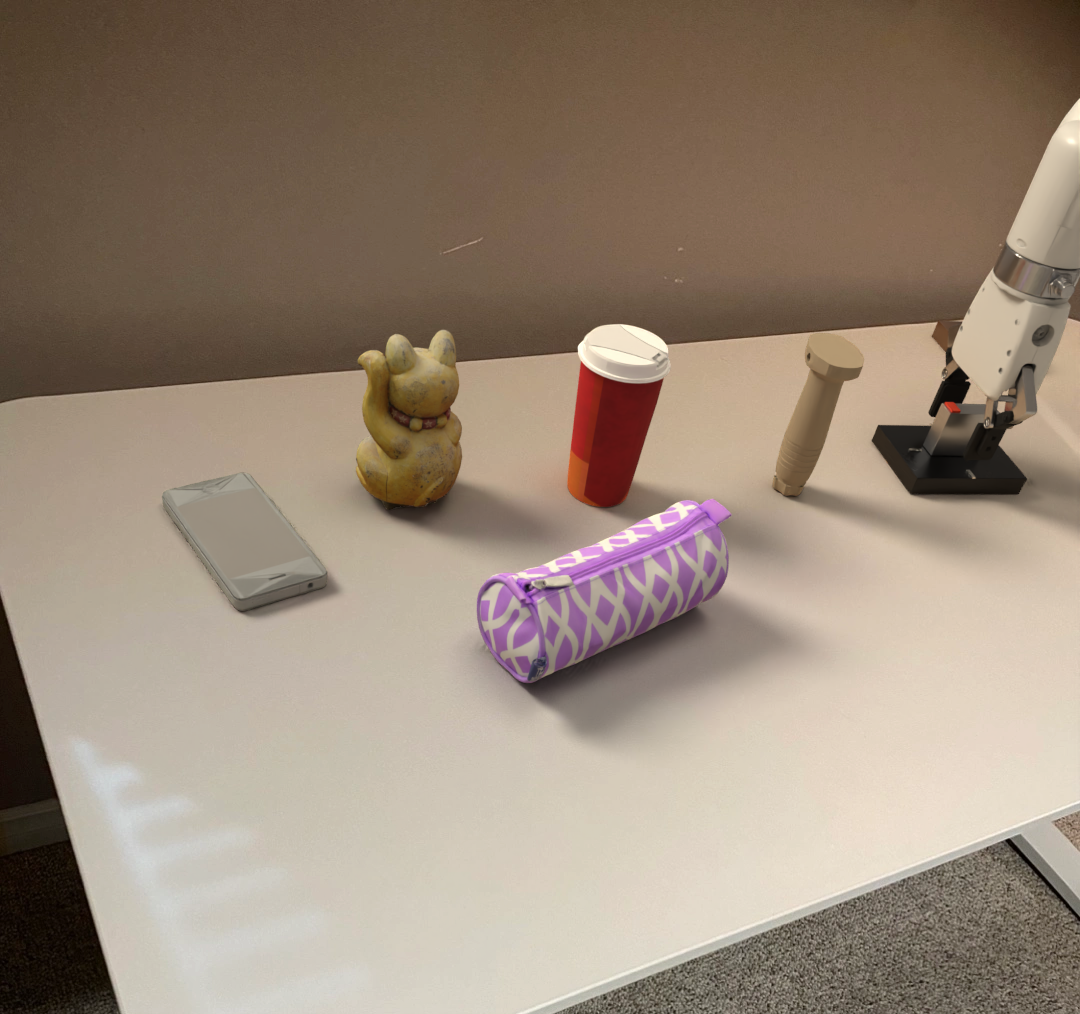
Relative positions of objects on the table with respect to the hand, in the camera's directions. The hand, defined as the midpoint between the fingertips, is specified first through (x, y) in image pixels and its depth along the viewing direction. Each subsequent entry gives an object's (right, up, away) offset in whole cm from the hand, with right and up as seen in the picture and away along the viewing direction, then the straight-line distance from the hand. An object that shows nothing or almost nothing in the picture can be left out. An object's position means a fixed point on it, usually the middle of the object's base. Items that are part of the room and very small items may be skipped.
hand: (958, 435), depth 114 cm
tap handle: (0, -1, +1) cm, 2 cm away
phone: (-69, -15, -22) cm, 74 cm away
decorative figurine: (-56, -9, -14) cm, 58 cm away
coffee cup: (-39, -8, -9) cm, 40 cm away
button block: (+12, +17, +24) cm, 31 cm away
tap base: (-1, -3, +3) cm, 4 cm away
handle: (-19, -7, -4) cm, 21 cm away
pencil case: (-40, -22, -24) cm, 51 cm away
